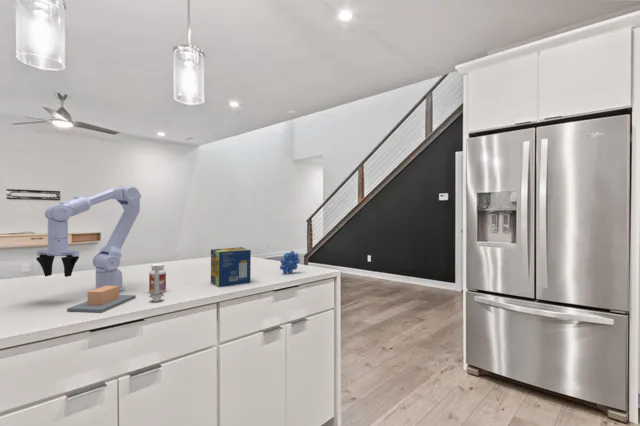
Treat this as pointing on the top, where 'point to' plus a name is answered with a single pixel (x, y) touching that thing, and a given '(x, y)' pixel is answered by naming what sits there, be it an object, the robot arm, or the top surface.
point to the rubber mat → (100, 308)
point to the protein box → (230, 266)
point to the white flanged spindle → (156, 287)
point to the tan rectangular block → (103, 295)
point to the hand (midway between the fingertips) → (58, 276)
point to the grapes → (289, 262)
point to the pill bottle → (161, 279)
